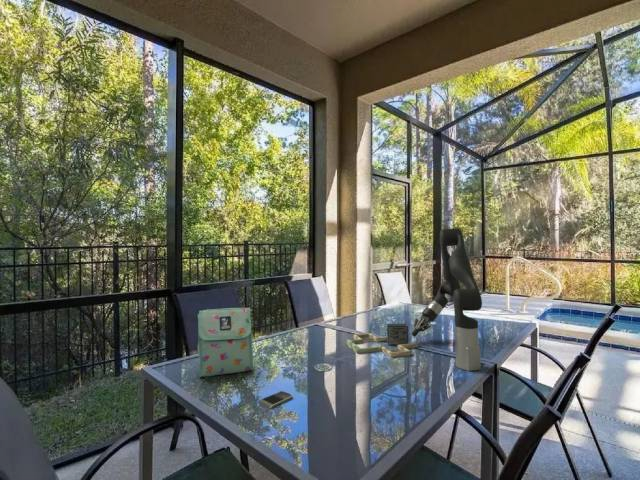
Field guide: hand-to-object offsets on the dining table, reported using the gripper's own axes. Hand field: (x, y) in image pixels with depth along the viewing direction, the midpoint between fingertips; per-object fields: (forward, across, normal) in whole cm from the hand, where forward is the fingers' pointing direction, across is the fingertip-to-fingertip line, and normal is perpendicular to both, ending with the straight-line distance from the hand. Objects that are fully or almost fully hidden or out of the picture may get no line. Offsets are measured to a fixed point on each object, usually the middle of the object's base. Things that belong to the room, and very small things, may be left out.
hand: (412, 335), depth 185 cm
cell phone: (+60, +48, -53) cm, 93 cm away
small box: (+9, 0, -4) cm, 10 cm away
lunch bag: (+72, +12, -66) cm, 98 cm away
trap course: (+16, 0, -11) cm, 19 cm away
